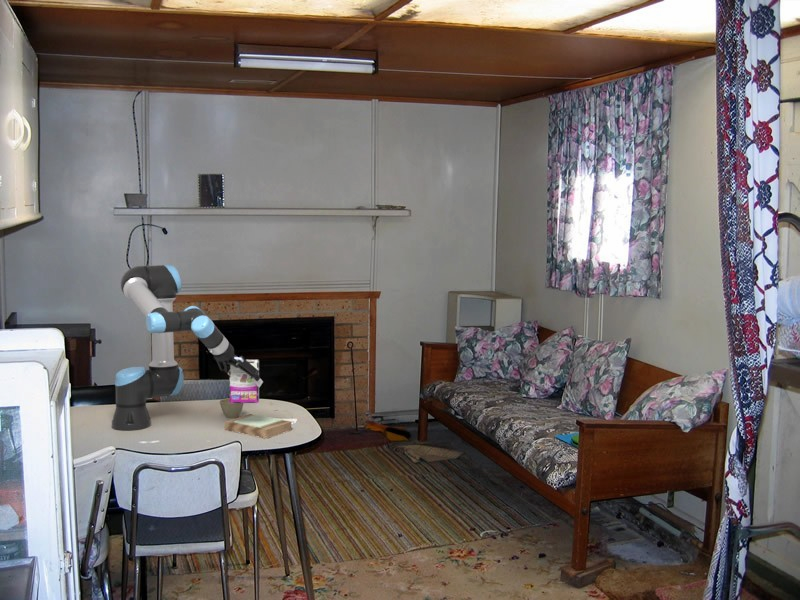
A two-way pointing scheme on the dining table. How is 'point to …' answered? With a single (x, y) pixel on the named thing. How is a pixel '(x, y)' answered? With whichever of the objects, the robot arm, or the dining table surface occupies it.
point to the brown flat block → (256, 431)
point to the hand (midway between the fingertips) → (249, 382)
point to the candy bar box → (243, 385)
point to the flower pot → (231, 408)
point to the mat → (258, 421)
